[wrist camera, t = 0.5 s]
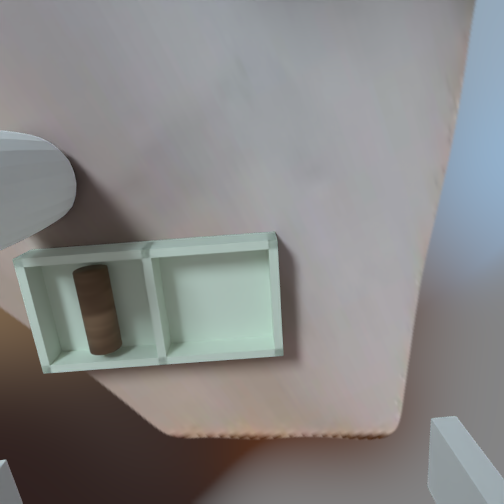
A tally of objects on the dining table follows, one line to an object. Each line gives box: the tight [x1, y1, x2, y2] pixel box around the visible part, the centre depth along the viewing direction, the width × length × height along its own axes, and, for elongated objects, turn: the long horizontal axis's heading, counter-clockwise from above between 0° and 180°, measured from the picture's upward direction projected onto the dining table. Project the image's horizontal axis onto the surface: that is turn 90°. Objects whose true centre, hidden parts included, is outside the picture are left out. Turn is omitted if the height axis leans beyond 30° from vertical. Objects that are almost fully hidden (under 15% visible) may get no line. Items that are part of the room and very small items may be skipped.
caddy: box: [12, 232, 283, 373], centre depth 36 cm, size 12×23×3 cm, turn 94°
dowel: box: [72, 264, 122, 355], centre depth 35 cm, size 8×3×3 cm, turn 4°
